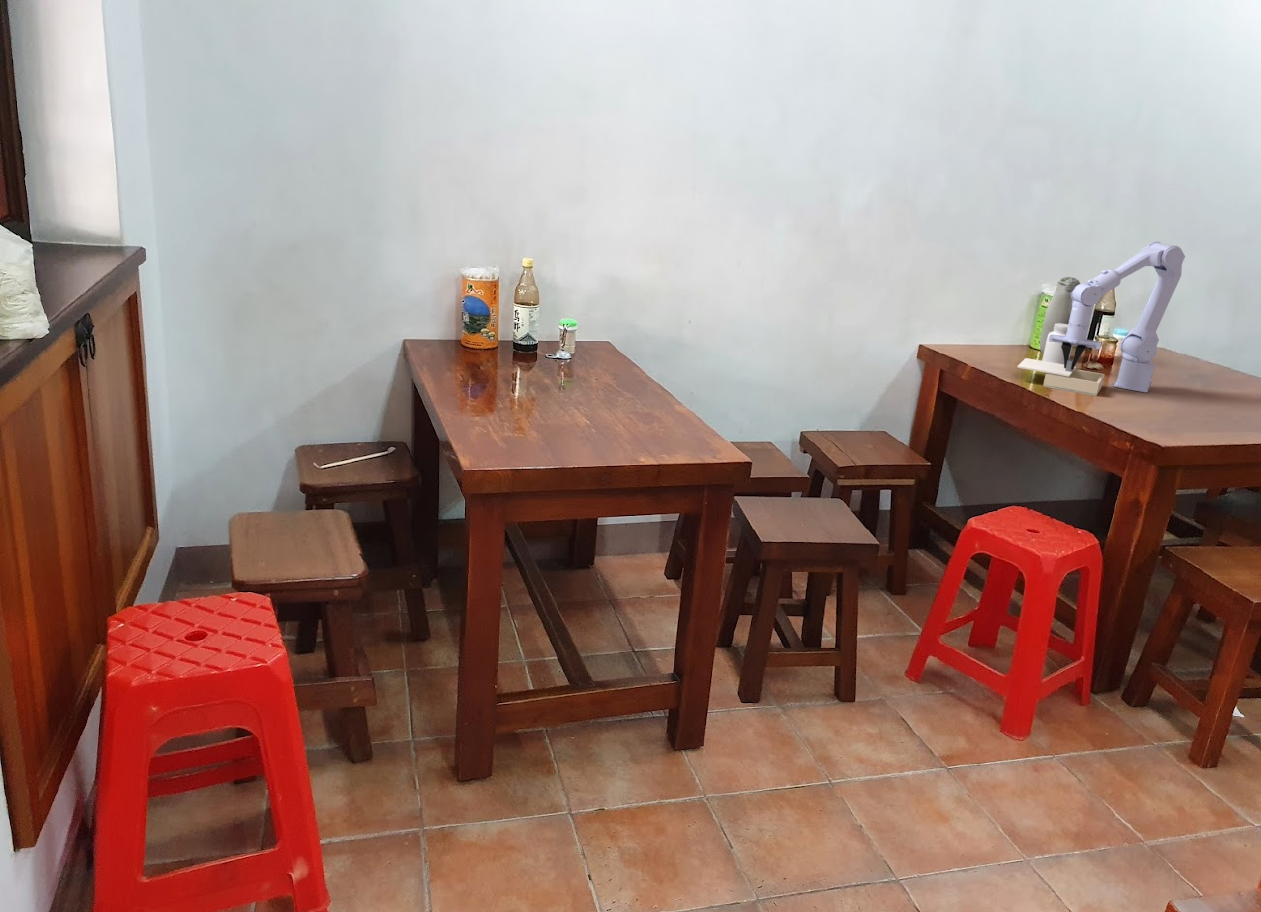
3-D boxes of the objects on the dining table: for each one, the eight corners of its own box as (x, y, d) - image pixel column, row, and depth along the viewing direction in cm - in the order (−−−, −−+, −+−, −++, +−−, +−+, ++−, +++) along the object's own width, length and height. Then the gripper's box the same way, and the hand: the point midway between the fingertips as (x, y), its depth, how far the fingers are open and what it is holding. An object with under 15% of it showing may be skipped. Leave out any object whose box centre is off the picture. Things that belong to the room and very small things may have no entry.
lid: (1075, 368, 298) (1078, 356, 297) (1069, 376, 287) (1071, 364, 286) (1025, 359, 305) (1027, 348, 304) (1017, 367, 294) (1019, 355, 293)
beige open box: (1101, 386, 296) (1104, 374, 294) (1096, 396, 284) (1099, 383, 283) (1050, 377, 303) (1053, 365, 301) (1043, 386, 291) (1045, 373, 290)
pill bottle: (1063, 374, 308) (1073, 328, 303) (1037, 369, 312) (1047, 324, 307) (1069, 370, 314) (1079, 325, 309) (1044, 365, 318) (1053, 321, 313)
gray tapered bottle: (1030, 355, 332) (1047, 274, 322) (1054, 354, 335) (1072, 274, 326) (1050, 362, 323) (1068, 279, 314) (1074, 362, 326) (1093, 280, 317)
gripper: (1051, 322, 288) (1041, 366, 293) (1103, 330, 281) (1092, 375, 286) (1054, 319, 294) (1045, 362, 299) (1106, 326, 287) (1095, 370, 292)
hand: (1068, 368), depth 293 cm, fingers closed on lid
